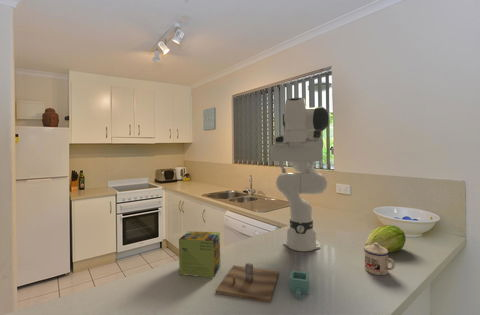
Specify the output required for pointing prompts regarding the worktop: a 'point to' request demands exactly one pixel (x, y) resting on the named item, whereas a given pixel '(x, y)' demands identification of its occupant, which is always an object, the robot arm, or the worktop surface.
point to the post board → (249, 283)
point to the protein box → (199, 253)
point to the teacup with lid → (377, 259)
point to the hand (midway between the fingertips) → (295, 172)
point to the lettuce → (387, 238)
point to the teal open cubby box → (299, 283)
